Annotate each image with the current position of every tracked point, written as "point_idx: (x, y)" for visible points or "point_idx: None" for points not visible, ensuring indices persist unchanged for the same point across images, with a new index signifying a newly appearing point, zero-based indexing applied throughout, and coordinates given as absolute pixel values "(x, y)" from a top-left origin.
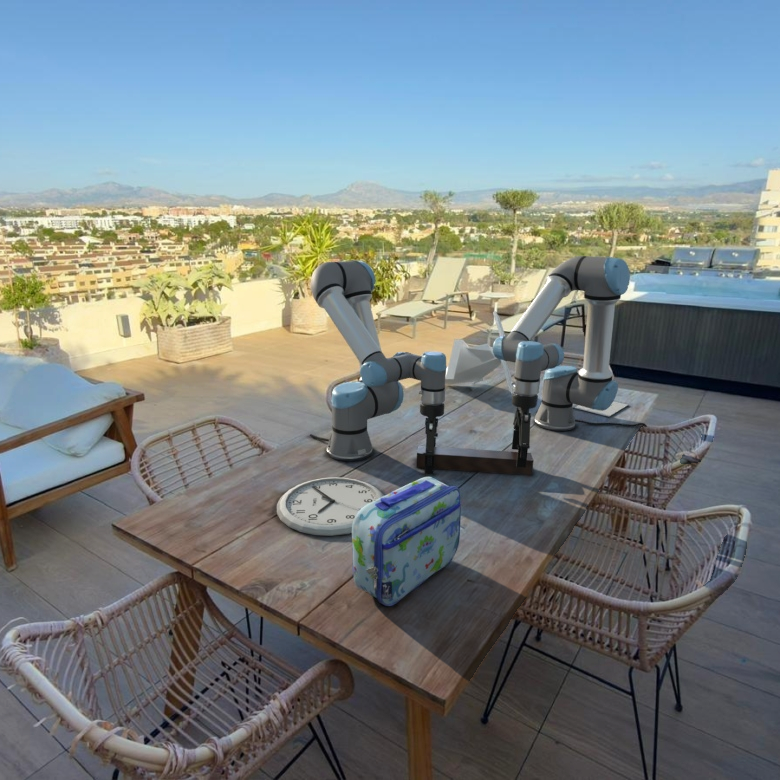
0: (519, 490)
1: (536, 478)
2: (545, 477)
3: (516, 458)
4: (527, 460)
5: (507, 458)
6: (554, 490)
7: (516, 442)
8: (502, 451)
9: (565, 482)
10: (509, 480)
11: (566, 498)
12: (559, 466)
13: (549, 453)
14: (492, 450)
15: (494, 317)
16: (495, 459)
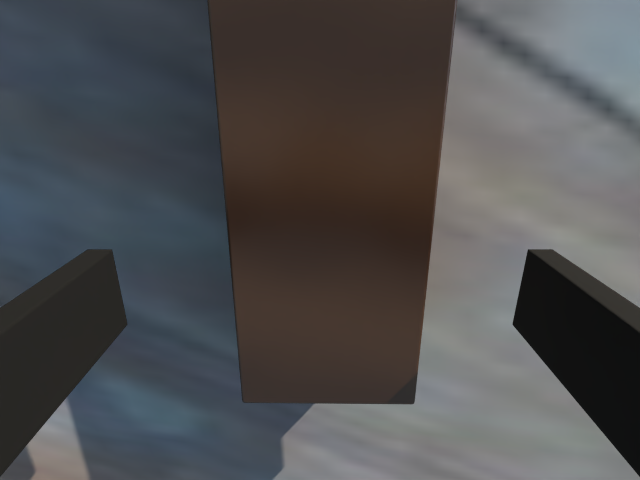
0: (14, 221)
1: (226, 343)
2: None
3: (258, 271)
4: (239, 358)
5: (237, 179)
6: (97, 409)
7: (566, 329)
8: (427, 139)
9: (214, 470)
10: (145, 168)
11: (26, 446)
12: (416, 477)
13: (605, 459)
14: (451, 3)
15: None
16: (212, 33)
